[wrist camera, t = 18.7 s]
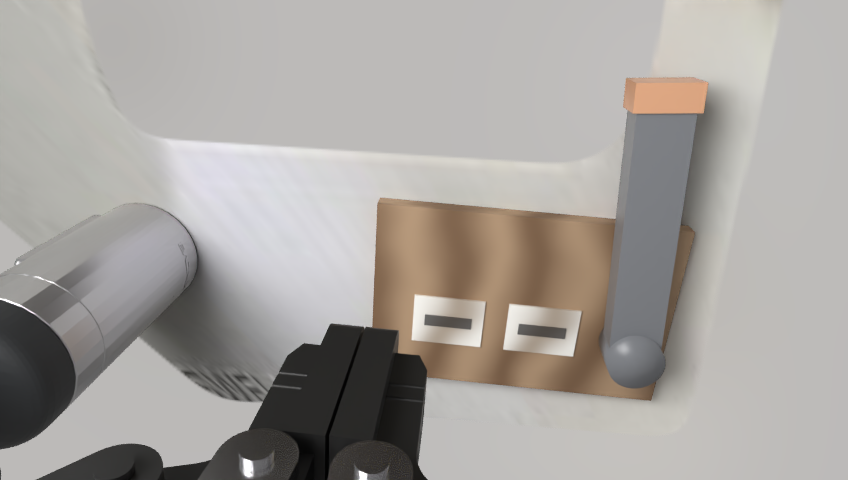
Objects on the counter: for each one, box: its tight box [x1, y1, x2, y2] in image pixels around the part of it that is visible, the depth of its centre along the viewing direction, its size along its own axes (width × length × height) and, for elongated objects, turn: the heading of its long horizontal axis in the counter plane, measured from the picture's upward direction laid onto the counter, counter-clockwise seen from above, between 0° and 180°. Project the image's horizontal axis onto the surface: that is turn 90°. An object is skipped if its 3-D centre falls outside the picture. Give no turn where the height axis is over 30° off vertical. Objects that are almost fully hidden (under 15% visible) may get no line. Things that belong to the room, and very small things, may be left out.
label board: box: [372, 198, 695, 401], centre depth 50 cm, size 25×16×2 cm, turn 86°
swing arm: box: [599, 77, 708, 389], centre depth 44 cm, size 24×5×4 cm, turn 1°
